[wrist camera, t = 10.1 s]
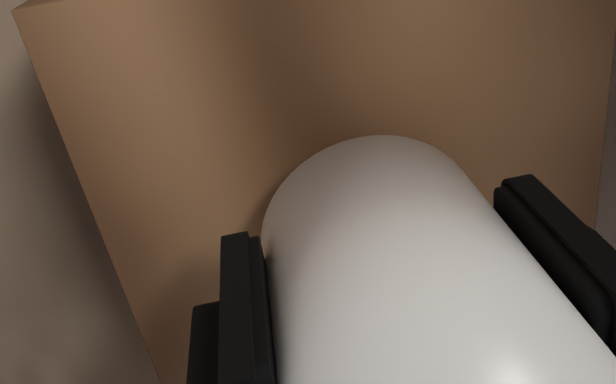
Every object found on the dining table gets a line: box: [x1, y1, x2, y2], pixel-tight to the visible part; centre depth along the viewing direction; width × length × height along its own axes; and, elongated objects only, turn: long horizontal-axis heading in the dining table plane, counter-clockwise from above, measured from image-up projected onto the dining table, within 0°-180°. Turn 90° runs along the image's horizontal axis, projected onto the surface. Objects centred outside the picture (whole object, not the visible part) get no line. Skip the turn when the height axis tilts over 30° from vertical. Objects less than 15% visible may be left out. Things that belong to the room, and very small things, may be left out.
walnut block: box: [11, 0, 616, 384], centre depth 16 cm, size 12×12×5 cm
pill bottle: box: [261, 135, 616, 384], centre depth 9 cm, size 5×5×8 cm
